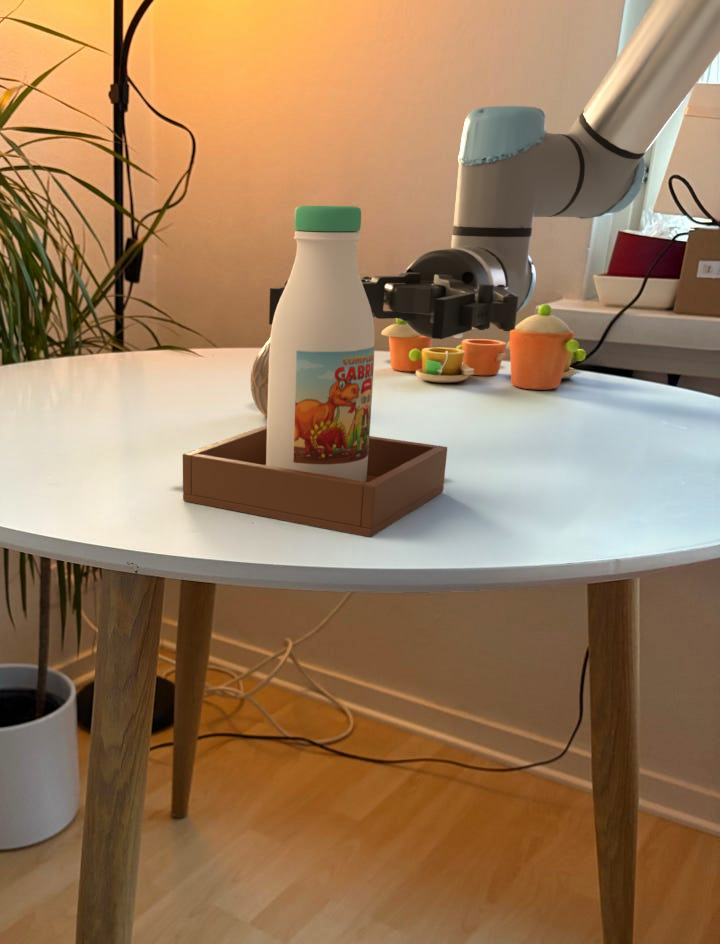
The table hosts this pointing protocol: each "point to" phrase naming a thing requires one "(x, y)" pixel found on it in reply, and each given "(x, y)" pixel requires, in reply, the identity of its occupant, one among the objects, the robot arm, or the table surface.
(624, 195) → the robot arm
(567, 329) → the toy tea set
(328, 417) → the milk bottle
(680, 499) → the table surface
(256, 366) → the vase
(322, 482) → the tray
